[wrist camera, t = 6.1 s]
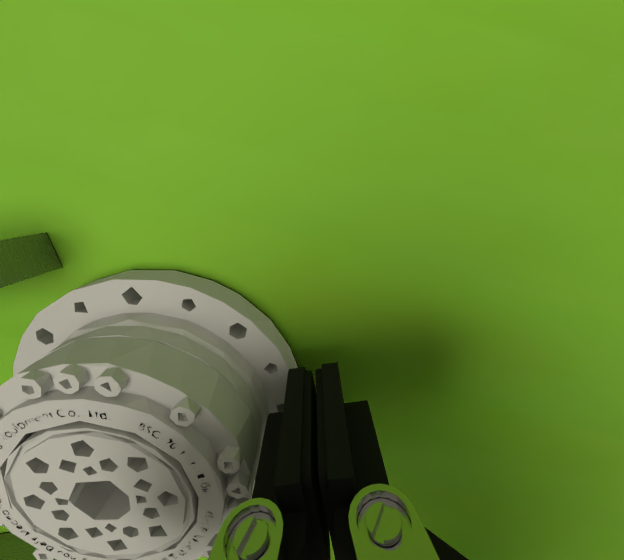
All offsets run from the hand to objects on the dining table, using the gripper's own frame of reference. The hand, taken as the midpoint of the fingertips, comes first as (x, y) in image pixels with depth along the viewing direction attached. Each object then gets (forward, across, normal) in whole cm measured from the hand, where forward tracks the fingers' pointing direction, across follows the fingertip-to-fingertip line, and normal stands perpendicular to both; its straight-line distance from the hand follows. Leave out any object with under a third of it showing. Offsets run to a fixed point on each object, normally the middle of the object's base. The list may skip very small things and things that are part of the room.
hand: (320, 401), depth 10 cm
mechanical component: (+2, +6, 0) cm, 6 cm away
